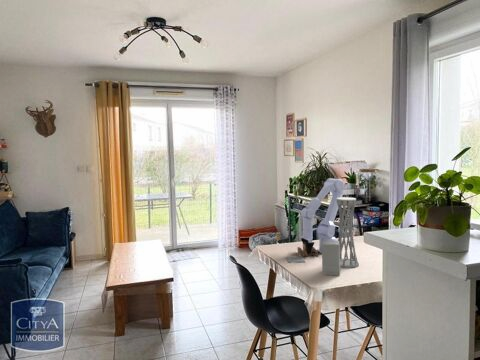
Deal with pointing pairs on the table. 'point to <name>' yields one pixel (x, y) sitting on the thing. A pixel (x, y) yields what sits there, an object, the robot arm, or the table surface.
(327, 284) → the table surface
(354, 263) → the vase
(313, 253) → the shelf slot
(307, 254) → the oak block
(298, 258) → the slate mat
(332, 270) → the skincare box
